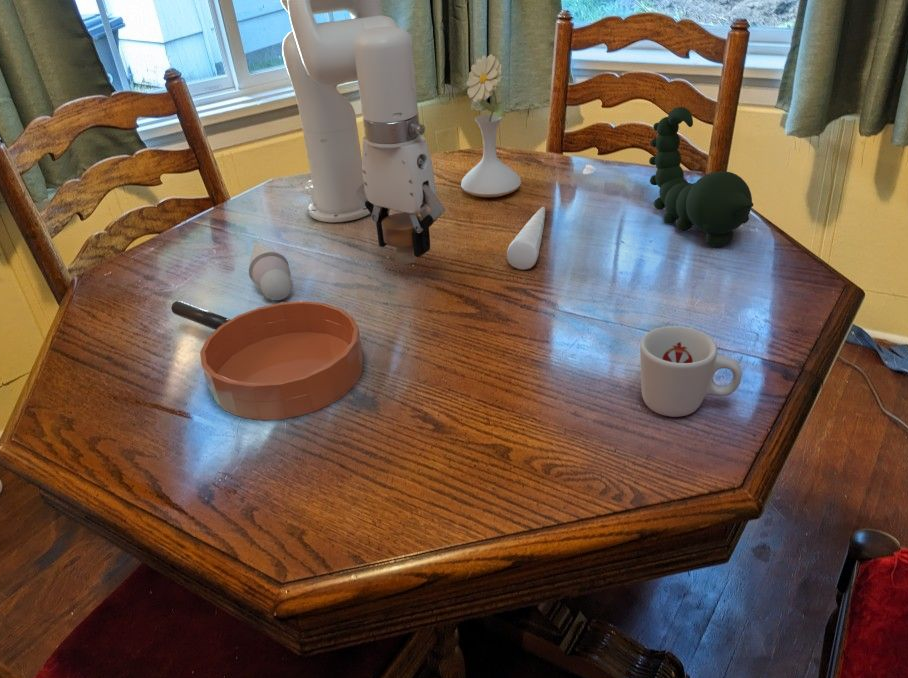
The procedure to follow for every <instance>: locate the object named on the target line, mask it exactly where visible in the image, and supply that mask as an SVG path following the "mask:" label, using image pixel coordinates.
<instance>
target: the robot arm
mask: <svg viewBox="0 0 908 678" xmlns="http://www.w3.org/2000/svg"><path fill="white" fill-rule="evenodd" d="M280 3H281V6H282V7H283V9H284V10H285V11H286V12H287V13H288V17H289V22H290V26H291V31H289V32H288V33H287V34H286V35H285V37H284V38H283V41H282V45H281V53H282V58H283V62H284V65H285V68H286V71H287V74H288V78H289V80H290V83H291V86H292V89H293V93H294V96H295V100H296V105H297V110H298V113H299V114H298V115H299V119H300V125H301V129H302V135H303V140H304V145H305V150H306V151H305V152H306V156H307V157H306V158H307V162H308V166H309V167H308V168H309V173H310V178H311V179H309V180H307V181H306V183H305V186H303V188H302V191H301V192H302V194H304V195H307V196H310V197H311V201H312V202H311V203H310V204H309V205H308V213H309V216H310V217H311V218H313V219H314V220H315V221H319V222H323V223H345V222H351V221H355V220H358V219H362V218H364V217H367V216H369V215H370V214H371V220H372V221H373V222H374V223H375V225H376V234H377V240H378V241H377V242H378V246H379V247H380V248H384V247H386V246H388V245H387V244H386V243H385V242H384V240H383V231H382V220H383V219H384V218H385V217H387V216H389V215H390V213H391V212H390V211H391V210H392V211H396V212H400V213H408V214H409V216H410V219H411V221H412V223H413V226H414V228H415V231H414V232H412V239H413V249H414V255H415V257H416V258H420V257H422V256H423V255H424V254H426V253H428V252H429V251H430V250H431V235H430V228H431V227H432V226H433V224H434V223H435V222H436V221H437V220H438V219H439V218H440V217H441V216H442V215H443V214H444V213H445V212H446V207H445V206H444V205H443V203H442V202H441V201H440V199H439V198H438V197H437V189H436V181H435V173H434V172H435V171H434V166H433V161H432V158H431V153H430V150H429V146H428V142H427V140H426V137H424V136H423V135H425V132H426V127H425V125H424V124H421V123H420V118H419V110H418V108H419V107H418V97H417V96H418V95H417V84H416V82H417V81H416V72H415V59H414V46H413V39H412V37H411V34H410V33H409V32H408V31H407V30H406V29H405V28H402V27H400V26H399V25H398V23H397V22H396V21H395V19H393V18H392V17H390V16H387V15H383V9H382V4H381V0H280ZM342 11H346V12H348V13H349V15H350V17H351V18H347V19H341V20H334V21H323V22H319V23H318V22H317V21H316V19H315V16H314V15H321V14H322V15H323V14H329V13H336V12H342ZM353 82H357V84H358V92H359V100H360V109H361V115H362V122H363V123H362V124H363V132H364V137H363V138H362V147H361V142H360V137H359V131H358V130H359V129H358V123H357V122H358V121H357V115H356V111H355V109H354V107H353V105H352V103H351V102H350V100H349V99H348V98H347V97H345V95H343V94H342V93H340V91H339V90H338V89H337V87H338V86H341V85H345V84H349V83H353ZM361 148H362V149H361ZM428 208H429V210H430V211H429V210H428ZM418 215H419V216H420V217H421V218H422V221H420V218H419V216H418Z"/></svg>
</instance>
